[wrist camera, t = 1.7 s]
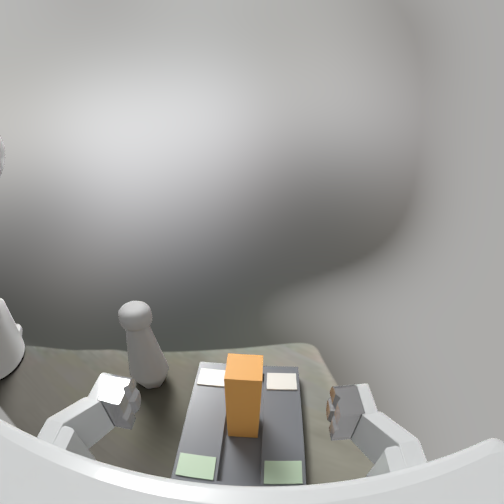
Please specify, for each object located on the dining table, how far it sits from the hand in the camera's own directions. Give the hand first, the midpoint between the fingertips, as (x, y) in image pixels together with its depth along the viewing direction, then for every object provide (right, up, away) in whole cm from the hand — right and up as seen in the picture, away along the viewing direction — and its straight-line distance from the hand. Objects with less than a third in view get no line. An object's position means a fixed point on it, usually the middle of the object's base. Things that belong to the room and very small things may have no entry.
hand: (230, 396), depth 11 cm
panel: (0, -16, +21) cm, 26 cm away
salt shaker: (-14, -13, +28) cm, 34 cm away
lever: (0, -15, +21) cm, 25 cm away
